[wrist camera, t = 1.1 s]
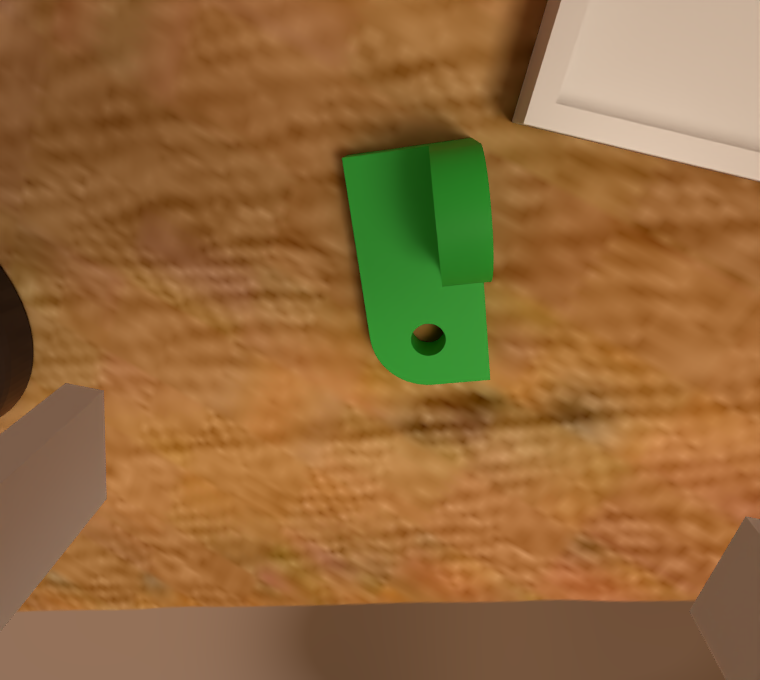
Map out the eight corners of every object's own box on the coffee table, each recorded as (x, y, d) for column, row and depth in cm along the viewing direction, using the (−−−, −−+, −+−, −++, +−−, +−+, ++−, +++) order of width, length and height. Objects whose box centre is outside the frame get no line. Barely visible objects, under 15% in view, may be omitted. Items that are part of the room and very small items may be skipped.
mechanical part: (347, 154, 27) (317, 171, 19) (470, 137, 26) (487, 147, 18) (381, 372, 31) (366, 453, 24) (486, 363, 30) (505, 444, 23)
